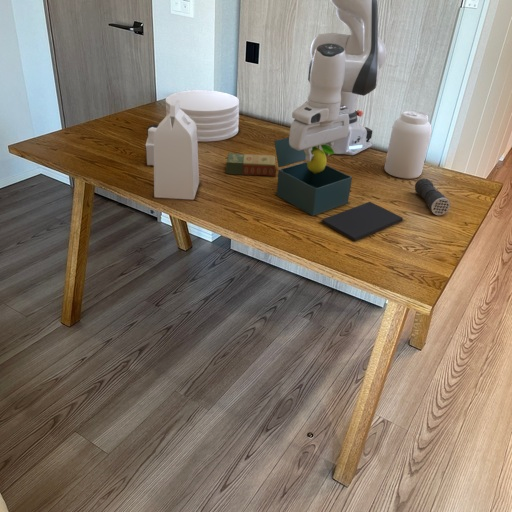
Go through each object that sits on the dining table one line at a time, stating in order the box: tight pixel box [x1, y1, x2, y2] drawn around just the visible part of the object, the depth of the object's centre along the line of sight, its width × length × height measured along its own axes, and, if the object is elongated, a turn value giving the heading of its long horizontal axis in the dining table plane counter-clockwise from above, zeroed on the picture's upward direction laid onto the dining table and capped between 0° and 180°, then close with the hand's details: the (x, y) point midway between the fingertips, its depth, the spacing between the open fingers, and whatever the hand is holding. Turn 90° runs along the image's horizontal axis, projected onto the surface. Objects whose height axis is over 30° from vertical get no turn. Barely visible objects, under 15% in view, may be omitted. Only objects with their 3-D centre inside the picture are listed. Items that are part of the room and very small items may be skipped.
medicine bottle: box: [144, 124, 159, 166], centre depth 163 cm, size 7×7×12 cm
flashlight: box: [414, 178, 452, 216], centre depth 149 cm, size 15×5×5 cm, turn 5°
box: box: [276, 161, 353, 217], centre depth 146 cm, size 16×15×8 cm
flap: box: [273, 137, 307, 168], centre depth 147 cm, size 8×14×1 cm
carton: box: [225, 152, 277, 177], centre depth 163 cm, size 8×16×4 cm, turn 88°
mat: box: [321, 201, 403, 242], centre depth 138 cm, size 20×12×1 cm, turn 129°
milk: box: [153, 99, 200, 201], centre depth 142 cm, size 12×12×26 cm
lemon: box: [304, 145, 335, 174], centre depth 142 cm, size 7×6×10 cm
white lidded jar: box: [383, 110, 433, 180], centre depth 164 cm, size 12×12×20 cm
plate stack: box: [165, 89, 240, 142], centre depth 193 cm, size 28×28×12 cm
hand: (317, 158), depth 142 cm, fingers closed on lemon, 5 cm apart
